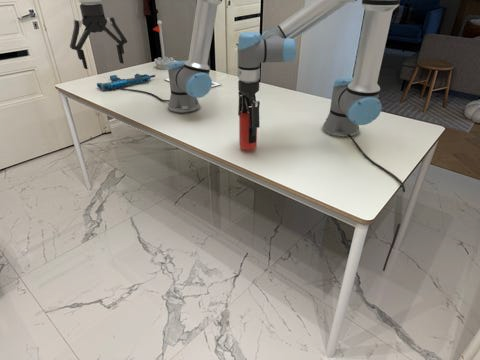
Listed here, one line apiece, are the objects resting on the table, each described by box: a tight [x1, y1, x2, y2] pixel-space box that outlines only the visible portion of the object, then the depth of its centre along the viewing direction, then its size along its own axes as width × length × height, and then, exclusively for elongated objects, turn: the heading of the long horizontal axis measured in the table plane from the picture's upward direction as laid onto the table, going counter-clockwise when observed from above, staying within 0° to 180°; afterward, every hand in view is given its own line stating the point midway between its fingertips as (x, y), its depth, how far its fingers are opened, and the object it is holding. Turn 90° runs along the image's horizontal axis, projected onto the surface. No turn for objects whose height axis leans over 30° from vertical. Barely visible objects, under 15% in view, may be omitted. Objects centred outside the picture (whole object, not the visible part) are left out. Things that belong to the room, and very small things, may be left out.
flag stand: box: [152, 19, 175, 70], centre depth 230 cm, size 13×13×30 cm
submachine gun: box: [96, 73, 156, 91], centre depth 208 cm, size 34×4×25 cm
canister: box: [238, 112, 258, 151], centre depth 131 cm, size 7×7×13 cm
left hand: (104, 65), depth 130 cm, fingers open, 13 cm apart
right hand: (248, 138), depth 133 cm, fingers closed on canister, 7 cm apart
